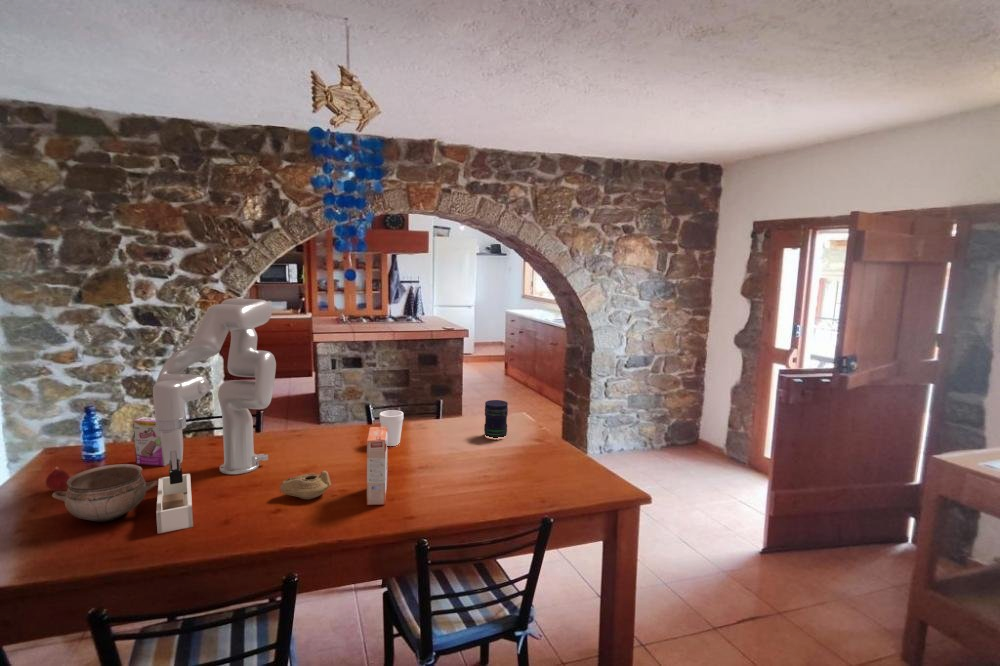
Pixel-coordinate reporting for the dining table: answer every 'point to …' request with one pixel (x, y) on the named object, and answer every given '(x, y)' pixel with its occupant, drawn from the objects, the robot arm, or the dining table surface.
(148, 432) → the candy bar box
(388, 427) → the foam cup
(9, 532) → the dining table surface
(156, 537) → the dining table surface
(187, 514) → the box
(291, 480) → the oil lamp
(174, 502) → the walnut block
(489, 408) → the storage jar
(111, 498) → the cooking pot
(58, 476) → the onion
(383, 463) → the cracker box
